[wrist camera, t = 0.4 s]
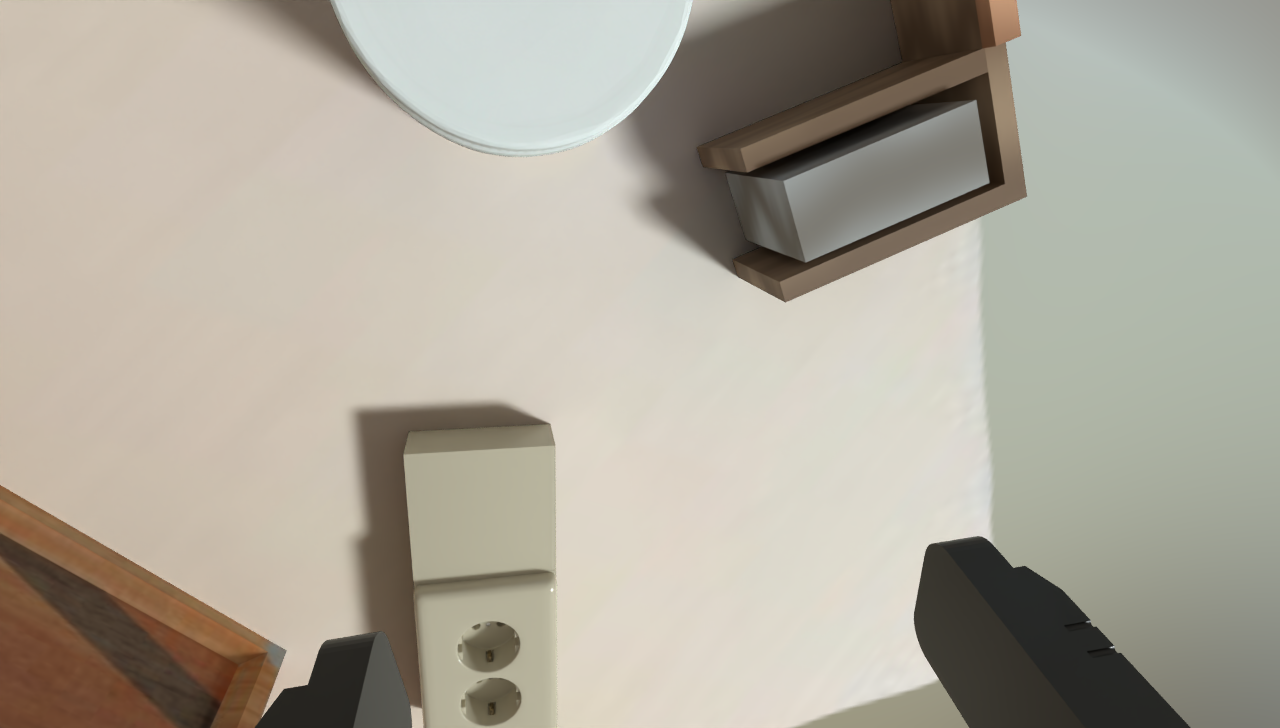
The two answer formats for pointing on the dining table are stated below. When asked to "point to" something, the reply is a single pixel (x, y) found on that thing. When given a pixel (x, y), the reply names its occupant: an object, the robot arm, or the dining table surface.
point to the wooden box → (114, 639)
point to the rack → (881, 153)
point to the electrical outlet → (484, 574)
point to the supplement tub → (515, 65)
